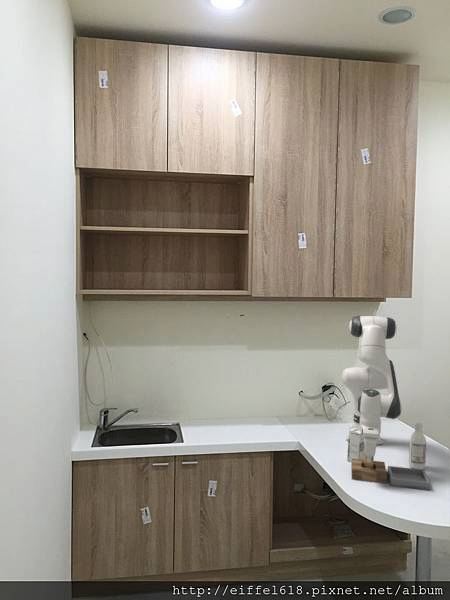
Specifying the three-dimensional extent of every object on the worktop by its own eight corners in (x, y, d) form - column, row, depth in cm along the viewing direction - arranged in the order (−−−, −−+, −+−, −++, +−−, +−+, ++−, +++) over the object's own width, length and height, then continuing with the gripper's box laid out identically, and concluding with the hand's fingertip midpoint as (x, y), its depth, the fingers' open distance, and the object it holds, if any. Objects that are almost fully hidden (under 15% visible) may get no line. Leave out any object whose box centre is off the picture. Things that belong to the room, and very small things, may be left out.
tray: (387, 472, 219) (388, 465, 219) (424, 476, 216) (424, 469, 216) (390, 485, 205) (390, 478, 205) (429, 490, 201) (430, 483, 201)
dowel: (363, 472, 218) (364, 440, 218) (372, 473, 218) (373, 441, 217) (363, 475, 215) (364, 443, 214) (373, 477, 214) (374, 444, 213)
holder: (351, 467, 224) (351, 458, 224) (383, 470, 221) (384, 462, 221) (351, 479, 211) (352, 469, 211) (386, 483, 208) (386, 473, 207)
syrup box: (352, 457, 237) (353, 427, 236) (364, 461, 233) (365, 430, 233) (347, 461, 232) (348, 430, 232) (359, 464, 229) (360, 432, 228)
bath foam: (427, 469, 224) (429, 425, 223) (412, 469, 224) (414, 425, 223) (420, 464, 231) (422, 421, 230) (406, 464, 231) (408, 421, 230)
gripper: (361, 420, 226) (360, 451, 227) (363, 434, 206) (361, 467, 207) (376, 422, 225) (375, 452, 225) (379, 435, 205) (377, 468, 205)
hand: (368, 459), depth 216 cm, fingers closed on dowel, 4 cm apart
